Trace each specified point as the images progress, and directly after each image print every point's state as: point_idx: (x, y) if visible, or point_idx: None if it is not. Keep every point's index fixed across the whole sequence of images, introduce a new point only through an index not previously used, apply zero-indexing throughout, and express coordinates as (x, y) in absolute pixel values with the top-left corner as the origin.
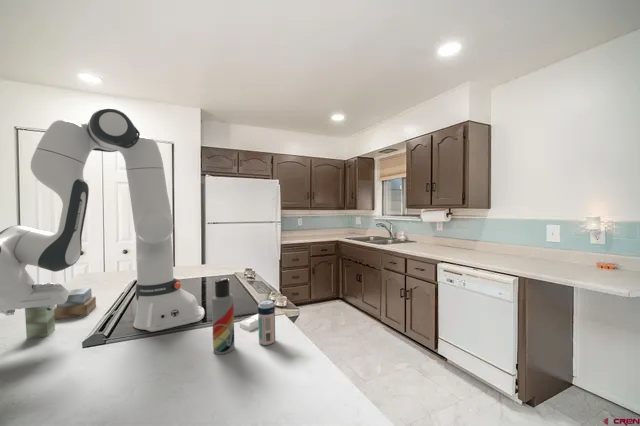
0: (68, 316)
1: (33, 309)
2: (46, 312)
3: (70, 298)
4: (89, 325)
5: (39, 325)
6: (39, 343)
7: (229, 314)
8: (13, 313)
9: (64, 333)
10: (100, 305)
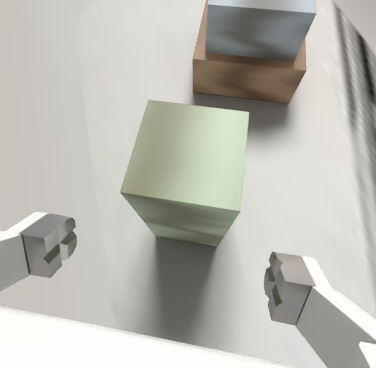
0: (236, 93)
1: (168, 206)
2: (231, 223)
3: (256, 25)
4: (337, 215)
5: (194, 233)
6: (209, 319)
7: None
8: (73, 243)
9: (270, 254)
10: None
